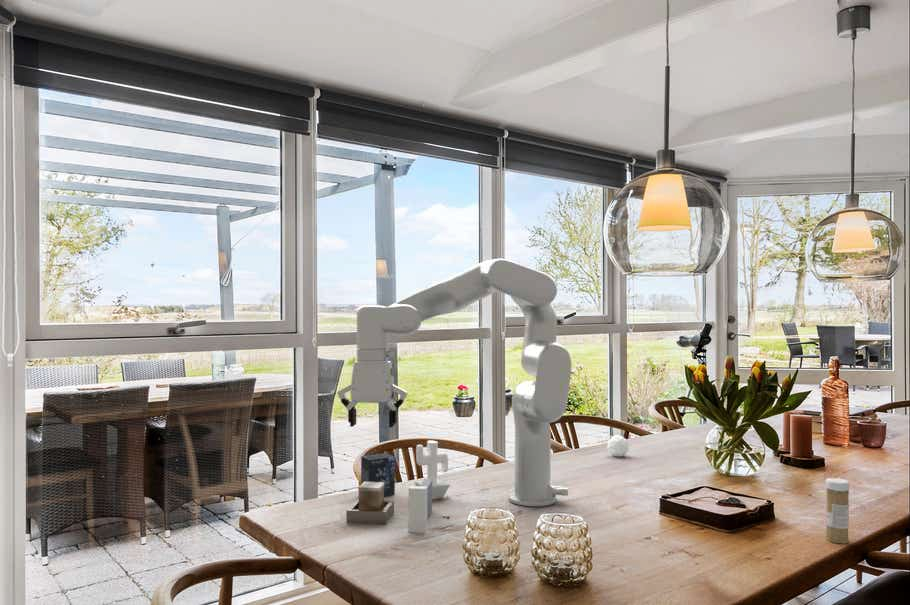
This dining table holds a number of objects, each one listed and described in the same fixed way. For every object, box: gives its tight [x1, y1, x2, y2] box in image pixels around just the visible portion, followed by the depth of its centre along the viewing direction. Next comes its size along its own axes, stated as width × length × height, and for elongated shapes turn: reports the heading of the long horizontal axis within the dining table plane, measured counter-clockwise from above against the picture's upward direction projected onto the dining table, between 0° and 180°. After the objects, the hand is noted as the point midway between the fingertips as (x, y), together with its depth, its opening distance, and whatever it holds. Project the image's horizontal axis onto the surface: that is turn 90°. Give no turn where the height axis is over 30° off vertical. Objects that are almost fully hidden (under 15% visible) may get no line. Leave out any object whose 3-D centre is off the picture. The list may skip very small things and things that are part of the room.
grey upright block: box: [407, 478, 433, 534], centre depth 162 cm, size 4×16×10 cm, turn 173°
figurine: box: [414, 439, 451, 500], centre depth 183 cm, size 7×9×15 cm
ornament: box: [606, 435, 630, 458], centre depth 233 cm, size 7×7×8 cm
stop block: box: [357, 482, 385, 511], centre depth 165 cm, size 5×5×8 cm
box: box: [360, 452, 396, 497], centre depth 185 cm, size 8×6×11 cm
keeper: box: [345, 498, 395, 526], centre depth 165 cm, size 10×10×3 cm
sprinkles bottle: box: [825, 477, 851, 544], centre depth 150 cm, size 5×5×14 cm
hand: (372, 425), depth 165 cm, fingers open, 9 cm apart
